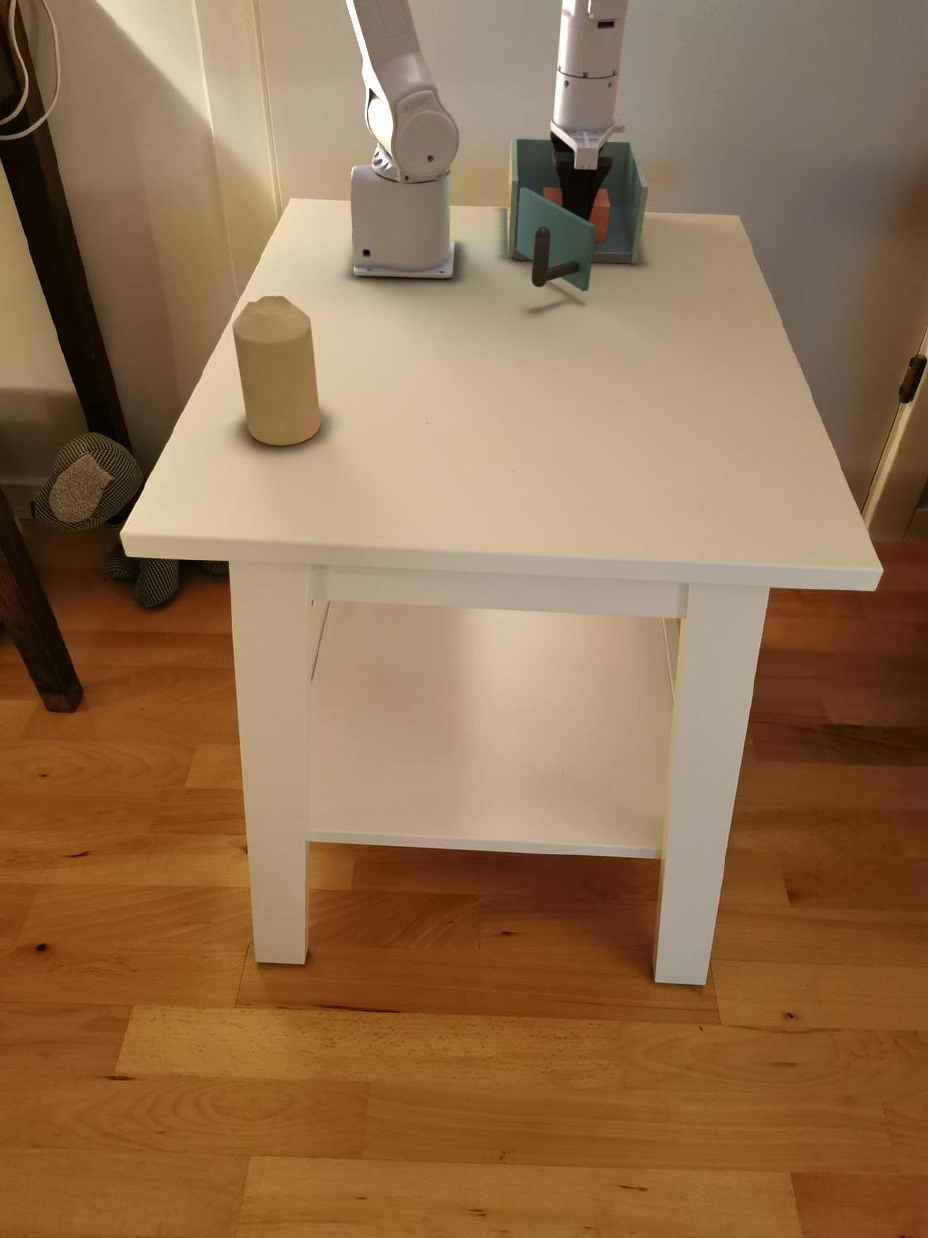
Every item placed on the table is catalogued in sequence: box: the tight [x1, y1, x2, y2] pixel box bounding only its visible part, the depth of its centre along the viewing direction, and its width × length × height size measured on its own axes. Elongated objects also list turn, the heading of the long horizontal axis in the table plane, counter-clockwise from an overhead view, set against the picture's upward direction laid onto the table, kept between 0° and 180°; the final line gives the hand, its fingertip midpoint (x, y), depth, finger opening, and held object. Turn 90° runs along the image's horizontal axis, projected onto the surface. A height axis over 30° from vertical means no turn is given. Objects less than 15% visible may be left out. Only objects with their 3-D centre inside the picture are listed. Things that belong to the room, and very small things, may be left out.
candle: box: [231, 295, 321, 446], centre depth 71 cm, size 6×6×10 cm
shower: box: [506, 136, 649, 265], centre depth 99 cm, size 13×13×8 cm
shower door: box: [517, 187, 596, 292], centre depth 89 cm, size 10×6×6 cm, turn 34°
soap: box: [542, 187, 610, 241], centre depth 99 cm, size 4×6×4 cm
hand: (573, 217), depth 99 cm, fingers closed on soap, 4 cm apart
